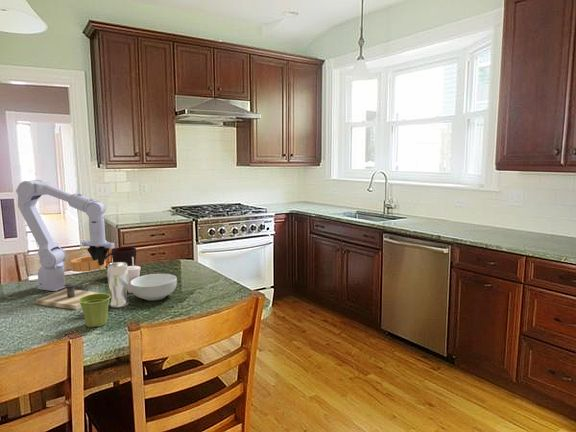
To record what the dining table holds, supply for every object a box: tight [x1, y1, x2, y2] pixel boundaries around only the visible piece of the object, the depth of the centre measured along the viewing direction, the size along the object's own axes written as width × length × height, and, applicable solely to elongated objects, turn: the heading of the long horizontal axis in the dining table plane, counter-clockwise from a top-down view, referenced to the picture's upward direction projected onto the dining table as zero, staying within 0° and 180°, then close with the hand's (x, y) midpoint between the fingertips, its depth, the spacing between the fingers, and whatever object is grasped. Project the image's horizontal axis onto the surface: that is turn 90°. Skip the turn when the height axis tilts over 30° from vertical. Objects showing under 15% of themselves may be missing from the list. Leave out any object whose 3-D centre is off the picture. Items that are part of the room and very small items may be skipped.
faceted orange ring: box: [70, 255, 107, 273], centre depth 176 cm, size 12×12×4 cm
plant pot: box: [78, 292, 111, 328], centre depth 137 cm, size 9×9×9 cm
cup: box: [104, 246, 137, 270], centre depth 190 cm, size 10×14×12 cm
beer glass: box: [106, 262, 130, 308], centre depth 154 cm, size 7×7×15 cm
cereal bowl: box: [130, 273, 178, 301], centre depth 163 cm, size 17×17×7 cm
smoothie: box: [127, 257, 142, 294], centre depth 169 cm, size 6×6×14 cm
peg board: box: [35, 282, 105, 310], centre depth 159 cm, size 18×14×6 cm
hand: (99, 264), depth 174 cm, fingers closed on faceted orange ring, 2 cm apart
